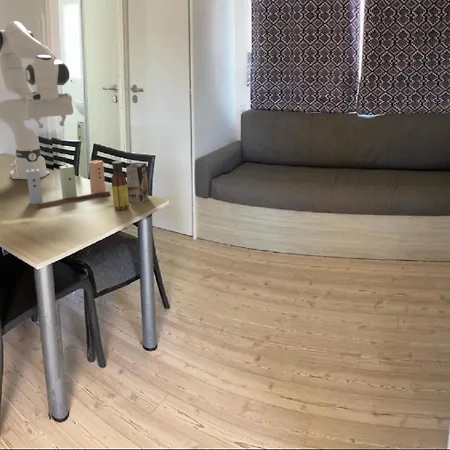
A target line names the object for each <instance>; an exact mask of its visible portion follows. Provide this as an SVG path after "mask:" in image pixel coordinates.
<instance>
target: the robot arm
mask: <svg viewBox="0 0 450 450" xmlns="http://www.w3.org/2000/svg"><path fill="white" fill-rule="evenodd" d="M23 59H28V60H33V61H32V63H29V64H28V65H27V66H26V68H25V66H24V63H23ZM0 71H1V74H2V75H1V76H2V78H3V83H4V86H5V89H6V90H7V91H8V92H9V93H10V94H13V95H15V96H17V97H18V98H14V99H13V98H11V99H5V100H2V101H0V122H2V123H3V124H5V125H6V126H7V127H8V128H9V129H11V130H10V131H11V132H12V135H13V137H14V141H15V142H14V143H15V147H16V148H15V159H14V160H13V163H12V164H10V166H11V169H12V170H11V171H9V173H10V176H11V178H12V179H13V180H27V172H26V170H31V169H39V173H40V179H41V178H44V177H45V176H47V175H49V174H50V171H49V170H47V166H46V165H47V164H46V160H45V158H44V157H43V156H42V149H41V148H40V141H39V134H38V132H37V131H36V130H35V129H33V128H30V127H27V126H26V125H25V124H26V123H25V122H32V121H33V122H36V124H37V127H38V128H39V129H42V128H43V129H44V123H41V121H40V120H43V119H46V118H50V117H59V116H60V117H61V121H59V123H58V124H59V126H60V127H64V126H65V121H66V119H67V116H71V115H73V114H74V107H73V102H72V101H73V98H72V95H71V94H69V93H68V92H67V93H66V92H65V93H59V86H64V85H65V84H66V83H67V82H68V81H69V79H70V71H69V68H68V66H67V65H66V63H64V62H63V61H61V60H60V59H59V58H58V57H57V56H56V55H55V54H54V53H53V52H52V51H51V50H50V49H49V47H48V46H47V45H45V44H43V43H41V42H40V41H38V40H37V39H36V38H35V37H34V33H32V32H31V31H30V30H28V29H27V28H26V26H24V25H23V23H21V22H19V21H10V22H8V23H7V24H6V25H5V27H4V29H0ZM31 85H32V86H36V88H35V89H36V90H33V88H32V87H31Z"/></svg>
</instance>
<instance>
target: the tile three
mask: <svg viewBox="0 0 450 450" xmlns="http://www.w3.org/2000/svg"><path fill="white" fill-rule="evenodd" d="M87 163H88V172H89V175H88V176H89V183H90V193H91V194H94V193H99V192H105V191H106V182H105V181H106V180H105V169H104V161H103V160H99V159H96V160H91V161H88V162H87Z"/></svg>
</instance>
